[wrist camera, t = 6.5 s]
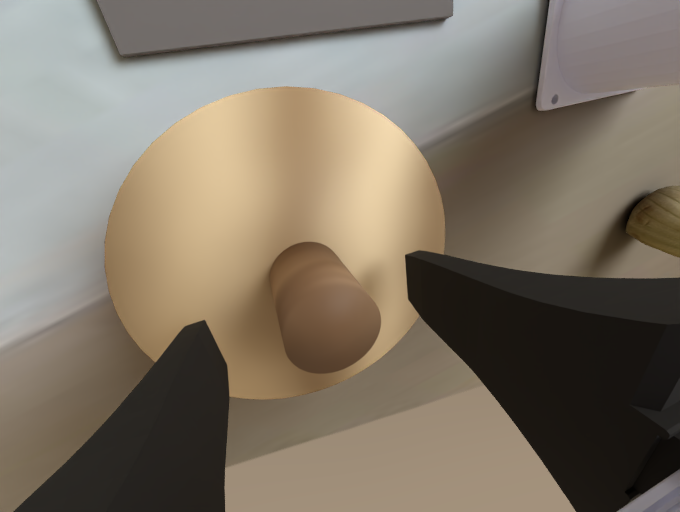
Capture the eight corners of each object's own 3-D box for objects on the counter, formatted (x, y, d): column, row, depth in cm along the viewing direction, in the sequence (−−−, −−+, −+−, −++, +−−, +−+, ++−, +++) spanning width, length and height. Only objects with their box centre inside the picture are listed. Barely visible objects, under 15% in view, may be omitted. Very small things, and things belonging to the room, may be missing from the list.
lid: (431, 63, 10) (550, 22, 6) (435, 329, 16) (499, 393, 12) (15, 131, 7) (-224, 133, 4) (202, 424, 13) (189, 545, 9)
